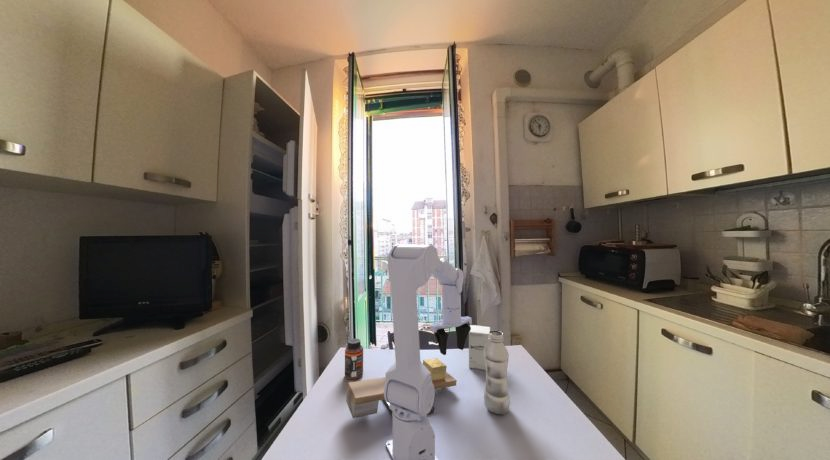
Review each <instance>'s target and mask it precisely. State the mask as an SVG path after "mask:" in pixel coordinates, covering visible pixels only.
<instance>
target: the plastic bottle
mask: <svg viewBox="0 0 830 460" xmlns="http://www.w3.org/2000/svg"><path fill="white" fill-rule="evenodd" d="M488 339H489V342H488V343H487V344H486V346H485V348H484V359H485V366H486V370H485V387H484V392H483V400H484V405H485V406H486V408H487V409H488V411H490V413H493V414H496V415H504V414H506V413H507V412H508V411H509V409H510V405H511V400H510V394H509V388H508V387H509V386H508V366H509V358H510V357H509V356H510V354H509V351H508V349H507V347H506V346H505V344H504V343H503V342H504V333H503V332H502V331H499V330H496V329H495V330H494V329H490V331H489V337H488Z"/></svg>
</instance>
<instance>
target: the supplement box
mask: <svg viewBox="0 0 830 460" xmlns="http://www.w3.org/2000/svg"><path fill="white" fill-rule="evenodd" d="M469 326H470V327H471V330H470V332H469V334H468V368H469V369H478V370H482V371H486V366H485V359H484V348H485V346H486V344H487V343H488V342H489V339H488V337H489V331H491V327H490V326H486V325H485V326H484V325H476V324H469Z"/></svg>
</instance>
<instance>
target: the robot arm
mask: <svg viewBox="0 0 830 460" xmlns="http://www.w3.org/2000/svg"><path fill="white" fill-rule="evenodd" d="M386 257H387V271H388V281H389V282H390V296H391V311H392V312H391V313H392V314H391V315H392V323H393V324H392V325H393V326H392V328H393V339H394V340H393V341H394V342H393V343H394V357H395V362H393V363H392V364H391V365H390V366H389V367H388V369H387V371H386V372H385V377H386V381H385V386H384V398H385V400H386V402H388V403H389V409H391V410H392V413H391V416H392V419H391V420H392V425H391V426H392V434H391V435H392V436H391V437H392V439H388V440H387V441H386V442H385V447H386V449H387V451H388V453H389V455H390V457H391V459H392V460H439V458H438V456H437V455H436V442H435V441H436V437H435V436H436V435H435V430H434V429H433V428H434V427H432V425H431V423H430V421H429V420H428V419H429V418H428V415H427V414H428V413H429V412H430V410H431V408H432V406H433V405H434V401H435V396H436V395H435V394H436V390H435V389H434V385H433V383H432V378H431V373H430V371H429V370H428V369H427V368H426V367H425V366H424V365H423V361H421V349H420V348H421V346H420V333H419V317H418V316H419V315H418V299H417V297H418V295H417V291H418V288H422V287H423V286H426V284H427V283H428V281H429V279H430V278H431V277H432V276H433V277H434V278H436V279H437V280H438V283H439V285H440V286H441V289H442V290H441V295H442V297H441V299H442V300H441V301H442V303H441V307H442V308H441V310H442V313H441V314H442V316H441V317H442V318H441V319H440V320H438V321H436V322H433V323H430V325H429V327H430V328H429V330H430V332H431V333H433V334H434V337H435V338H436V341H437V345H438V349H439V352H440V354H441V355H443V356H446V355H447V345H448V344H447V343H448V338H449V333H447V331H446V329H452V328H455V332H456V345H457V349H459V350H461V351H463V350H464V349H465V347H464V346H465V345H466V340H467V337H468V336H469V332H470V330H471V327H470V325H473V318H472V317H470V316H468V315H467V316H462V292H463V284H464V271H463V270H462V269H460V267H455V266H454V265H453V264H452V263H450V262H449V261H448V259H447V258H446V257H444V258H443V257H442V258H439V253H438V249H437V247H435V246H434V245H433V244H401V243H396V244H394V245H393V246H392V248H391V250H390V251H389V253H388V254H387V256H386ZM433 407H434V406H433ZM389 409H388V410H389Z"/></svg>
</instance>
